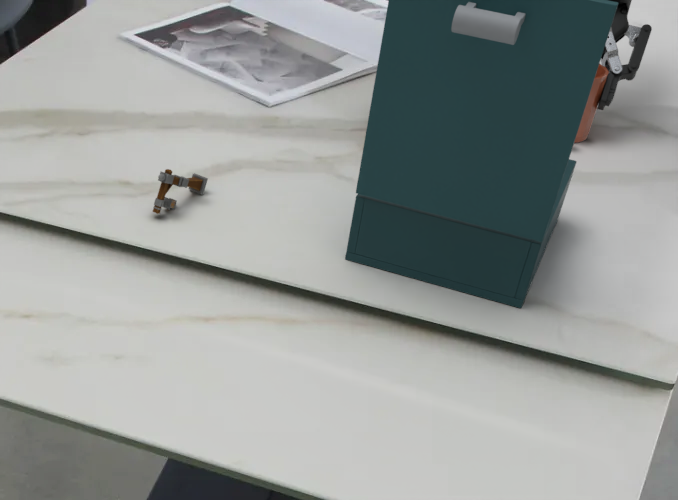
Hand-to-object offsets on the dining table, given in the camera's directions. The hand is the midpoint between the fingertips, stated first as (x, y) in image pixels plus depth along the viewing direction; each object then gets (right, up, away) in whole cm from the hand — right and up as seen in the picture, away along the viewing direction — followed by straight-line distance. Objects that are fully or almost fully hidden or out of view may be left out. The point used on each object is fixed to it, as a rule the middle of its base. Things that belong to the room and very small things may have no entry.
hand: (570, 100), depth 125 cm
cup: (0, -2, +4) cm, 5 cm away
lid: (-21, -14, -37) cm, 44 cm away
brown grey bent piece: (-47, -17, -16) cm, 53 cm away
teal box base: (-18, -21, -18) cm, 33 cm away
